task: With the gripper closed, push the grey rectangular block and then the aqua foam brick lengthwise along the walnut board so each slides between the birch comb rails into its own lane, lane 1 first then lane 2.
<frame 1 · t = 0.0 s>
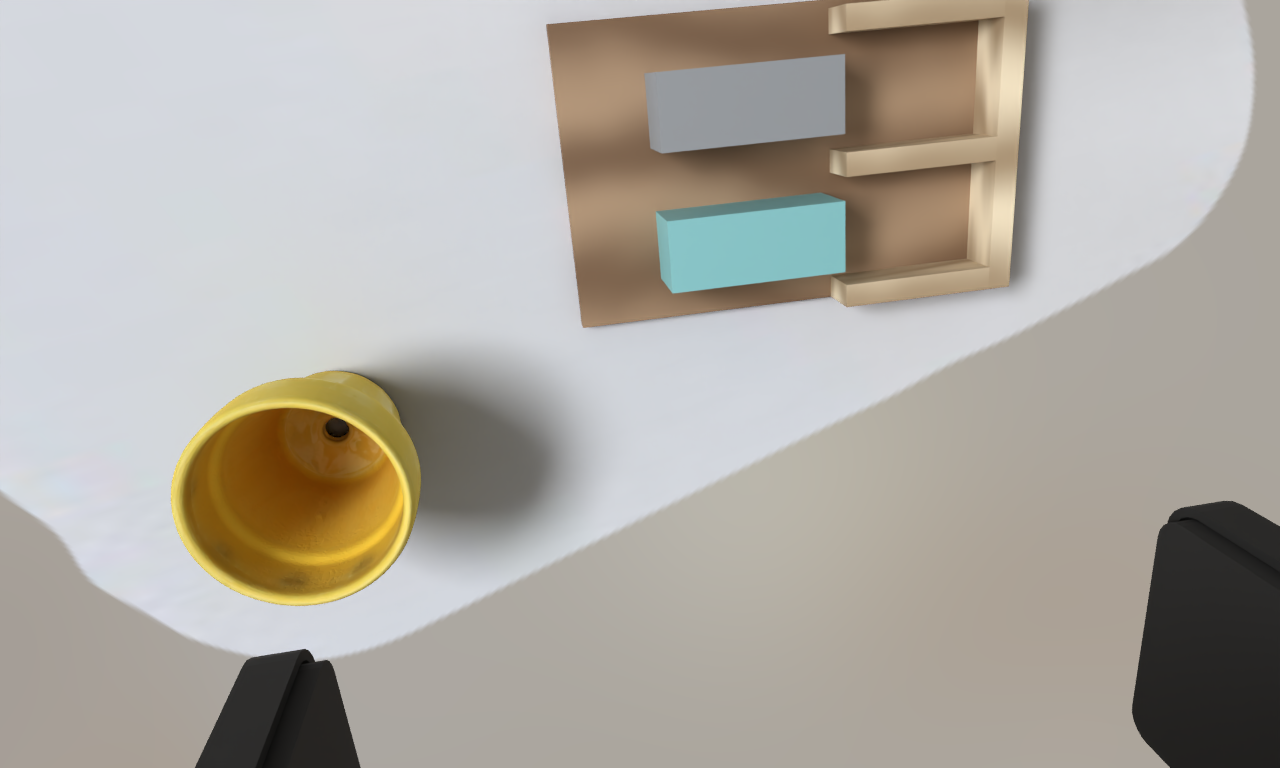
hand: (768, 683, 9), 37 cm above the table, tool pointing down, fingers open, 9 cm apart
aqua foam brick: (740, 235, 44), point 1 cm above the table, touching comb board
plant pot: (339, 423, 46), on the table
grey rectangular block: (734, 102, 42), point 1 cm above the table, touching comb board
comb board: (788, 159, 44), on the table
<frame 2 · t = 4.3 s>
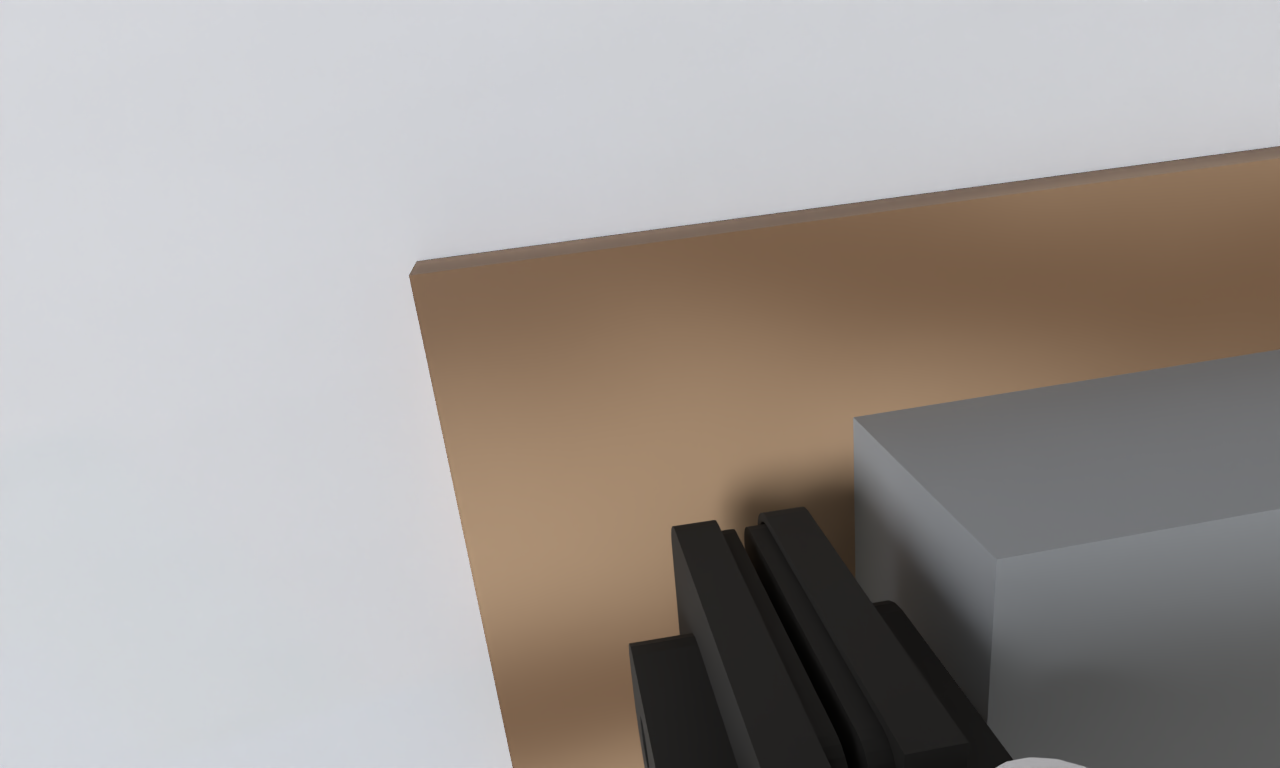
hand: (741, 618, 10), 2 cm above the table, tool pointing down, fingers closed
grey rectangular block: (1150, 482, 12), point 1 cm above the table, touching comb board, gripper
comb board: (1216, 603, 14), on the table
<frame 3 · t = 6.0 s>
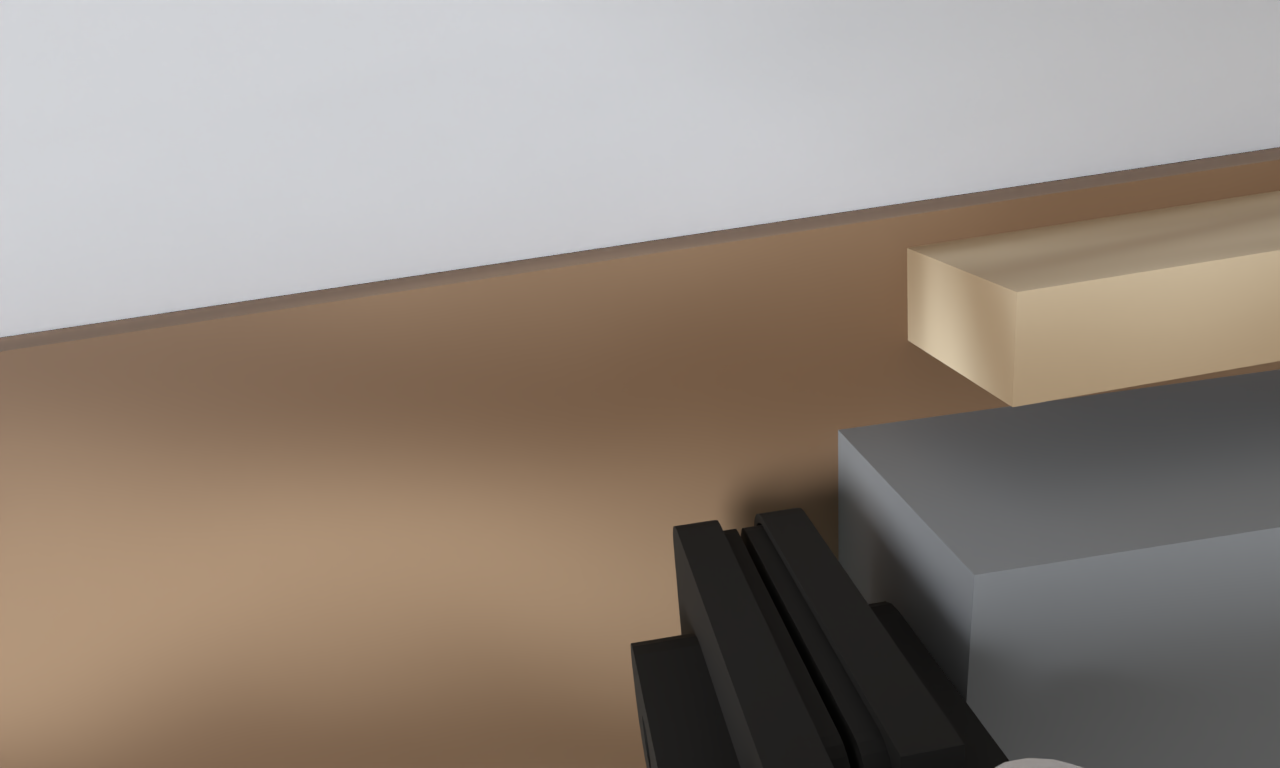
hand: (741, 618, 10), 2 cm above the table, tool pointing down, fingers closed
grey rectangular block: (1137, 502, 12), point 1 cm above the table, touching comb board, gripper
comb board: (770, 700, 13), on the table
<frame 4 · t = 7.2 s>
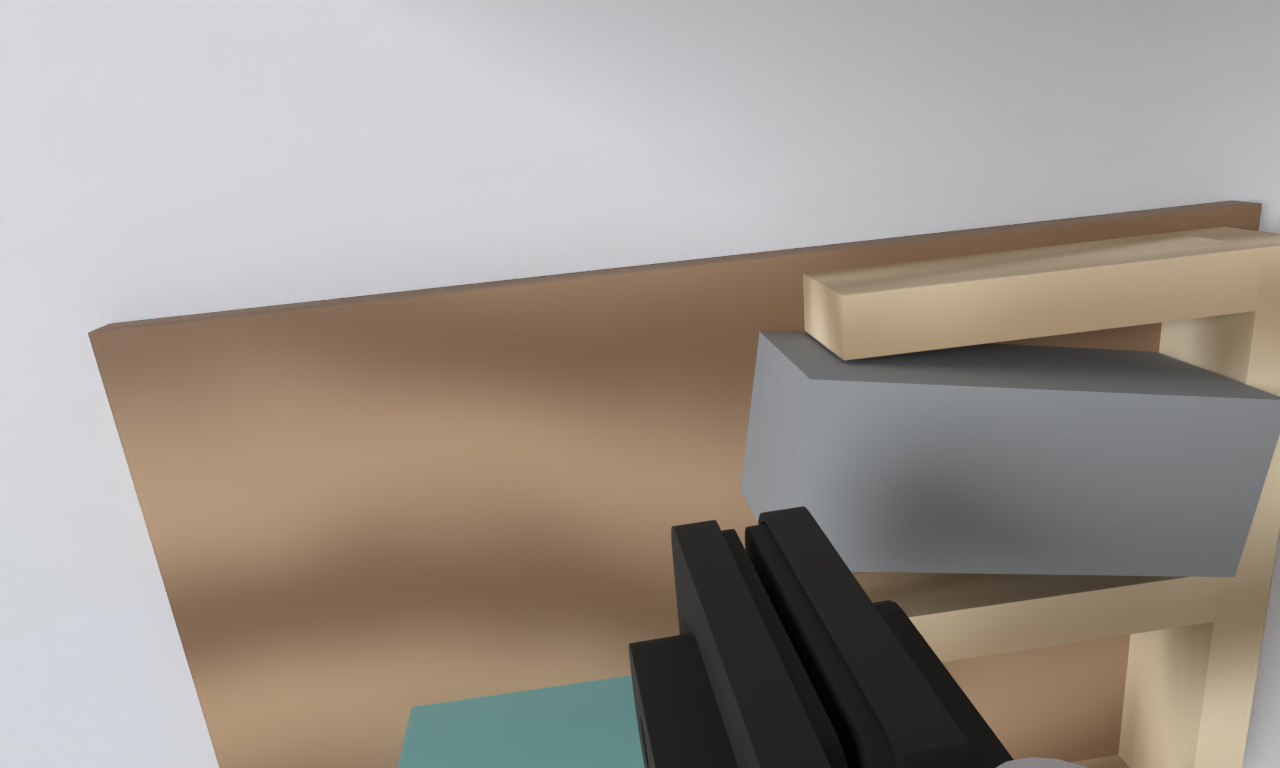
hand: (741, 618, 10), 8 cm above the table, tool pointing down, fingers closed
aqua foam brick: (614, 741, 20), point 1 cm above the table, touching comb board
grey rectangular block: (948, 420, 18), point 1 cm above the table, touching comb board
comb board: (721, 575, 20), on the table
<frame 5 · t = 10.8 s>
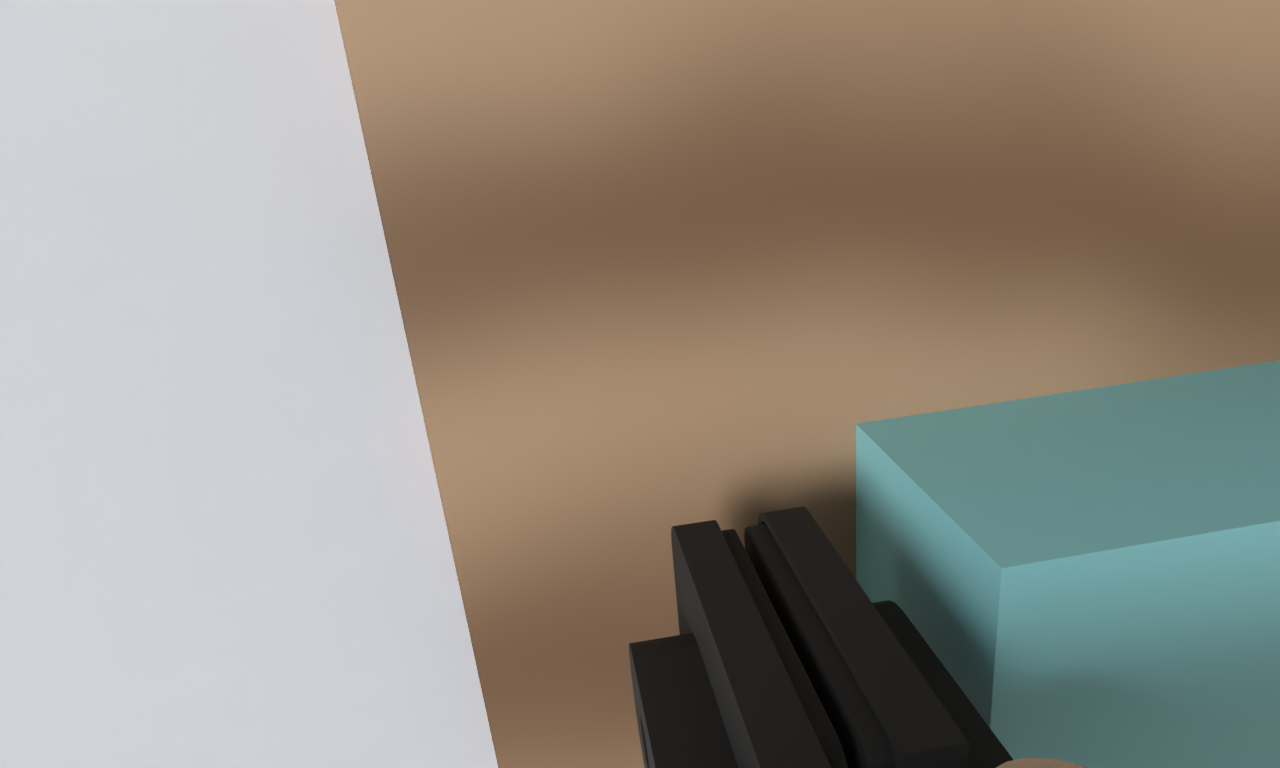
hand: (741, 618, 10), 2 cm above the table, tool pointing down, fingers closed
aqua foam brick: (1152, 492, 12), point 1 cm above the table, touching comb board, gripper
comb board: (1275, 212, 12), on the table
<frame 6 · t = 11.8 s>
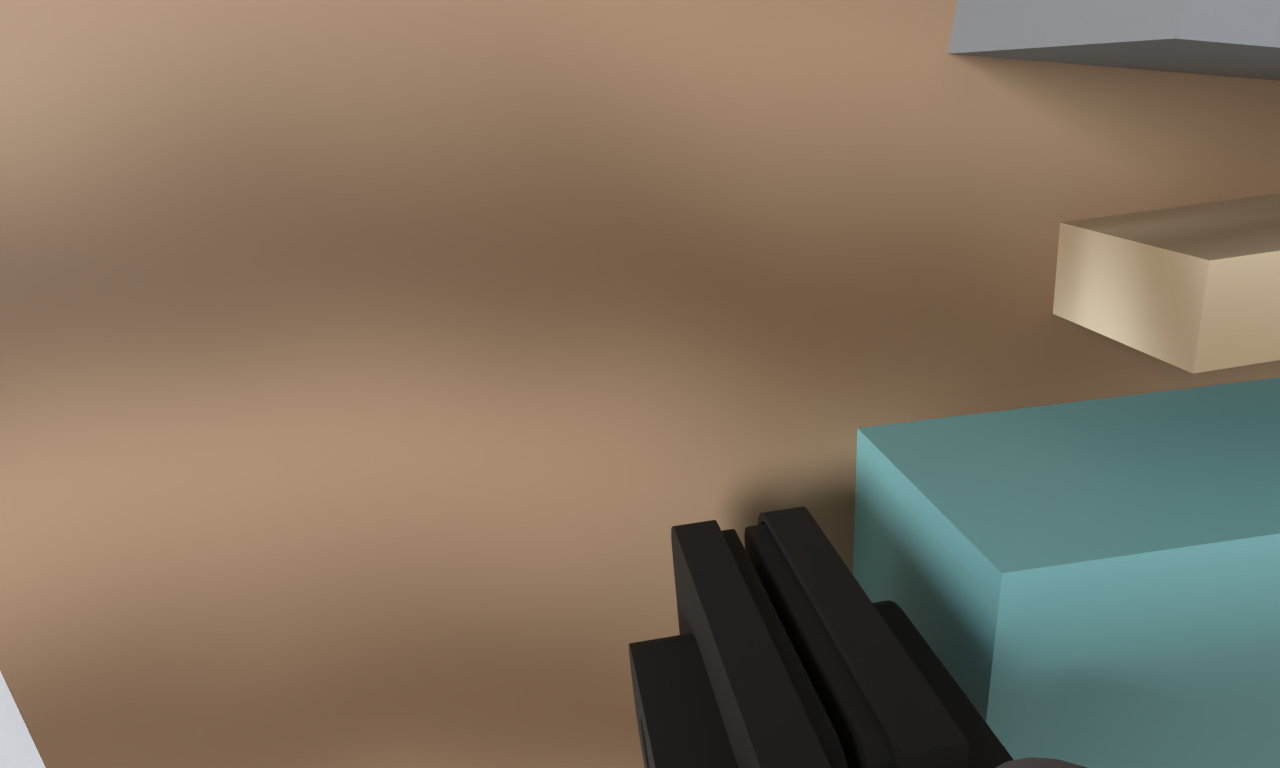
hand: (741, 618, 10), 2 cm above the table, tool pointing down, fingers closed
aqua foam brick: (1146, 504, 12), point 1 cm above the table, touching gripper
comb board: (882, 261, 11), on the table
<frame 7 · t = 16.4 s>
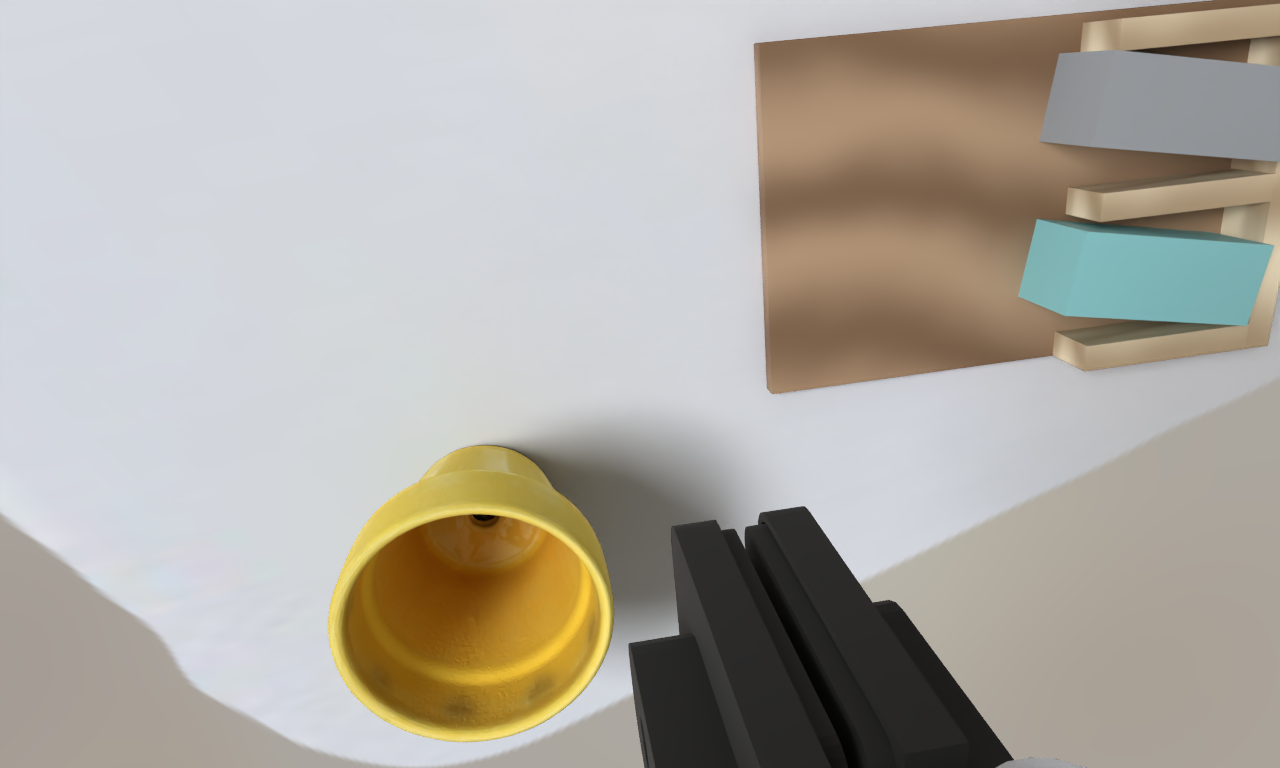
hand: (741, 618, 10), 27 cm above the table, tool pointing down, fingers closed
aqua foam brick: (1114, 264, 39), point 1 cm above the table, touching comb board
plant pot: (484, 503, 39), on the table
grey rectangular block: (1141, 106, 36), point 1 cm above the table, touching comb board
comb board: (1015, 198, 38), on the table
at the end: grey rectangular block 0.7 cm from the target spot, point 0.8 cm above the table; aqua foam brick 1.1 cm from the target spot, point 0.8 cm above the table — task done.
